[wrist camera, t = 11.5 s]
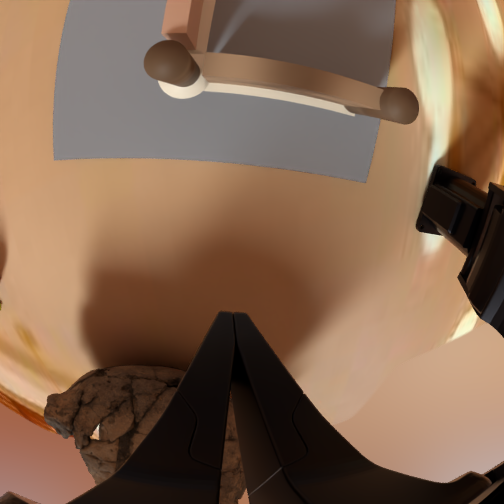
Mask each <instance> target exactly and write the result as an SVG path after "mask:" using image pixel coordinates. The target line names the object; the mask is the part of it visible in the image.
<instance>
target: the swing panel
mask: <svg viewBox="0 0 504 504" xmlns="http://www.w3.org/2000/svg"><path fill="white" fill-rule="evenodd" d="M202 6H203V0H167V3H166V8H165V14H164V19H163V26H162V32H161V34H162V35H163V36H164V37H165V38H166V39H167V40H175V41H178V42H180V43H181V44H182V45H184V47H185V48H186V49H187V50H196V46H197V38H198V31H199V25H200V18H201V12H202Z"/></svg>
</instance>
